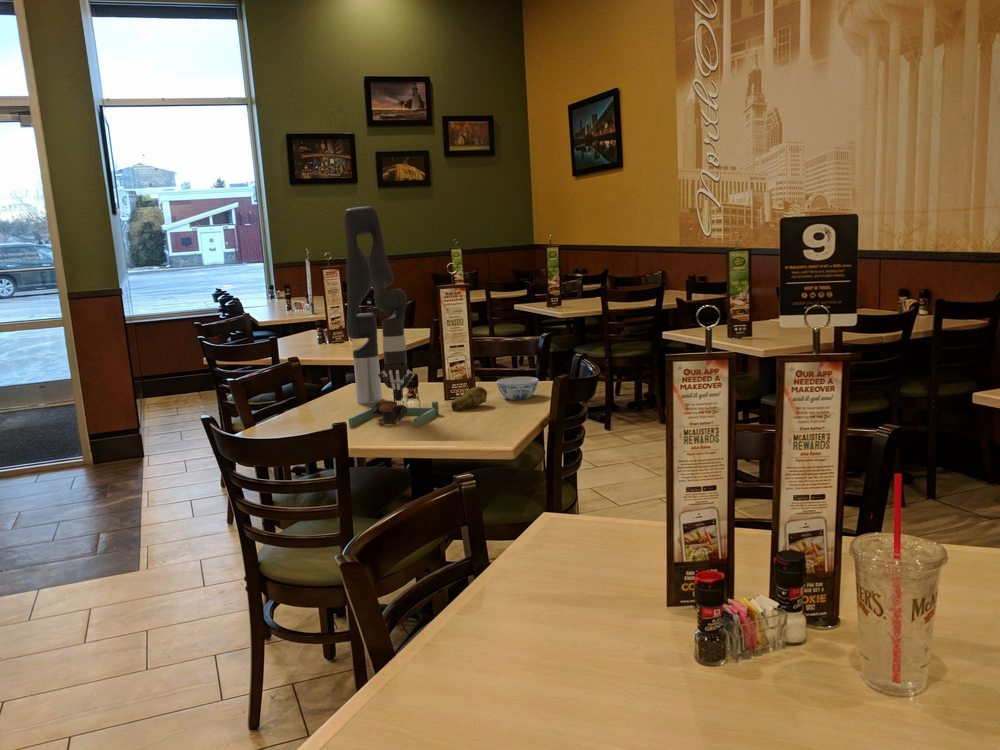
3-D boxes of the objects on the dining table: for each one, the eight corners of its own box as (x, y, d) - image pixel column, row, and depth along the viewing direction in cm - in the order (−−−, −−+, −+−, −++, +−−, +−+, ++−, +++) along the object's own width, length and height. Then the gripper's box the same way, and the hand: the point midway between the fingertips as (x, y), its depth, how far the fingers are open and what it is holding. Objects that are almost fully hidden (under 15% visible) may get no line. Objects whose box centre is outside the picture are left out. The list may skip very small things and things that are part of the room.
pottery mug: (369, 427, 271) (367, 403, 274) (382, 433, 280) (379, 410, 282) (403, 419, 268) (401, 395, 271) (415, 425, 277) (412, 402, 280)
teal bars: (372, 415, 290) (371, 401, 289) (439, 416, 282) (438, 401, 281) (348, 427, 272) (347, 412, 272) (418, 428, 265) (417, 412, 264)
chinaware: (543, 397, 306) (542, 376, 304) (534, 405, 291) (533, 383, 290) (503, 397, 309) (502, 377, 308) (493, 405, 295) (491, 384, 294)
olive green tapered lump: (450, 409, 292) (448, 387, 291) (486, 406, 294) (485, 384, 293) (452, 414, 284) (450, 391, 283) (489, 411, 286) (488, 388, 285)
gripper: (417, 347, 280) (421, 398, 282) (381, 348, 284) (385, 398, 286) (408, 350, 272) (412, 402, 275) (371, 351, 276) (375, 402, 279)
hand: (398, 400), depth 280 cm, fingers closed
